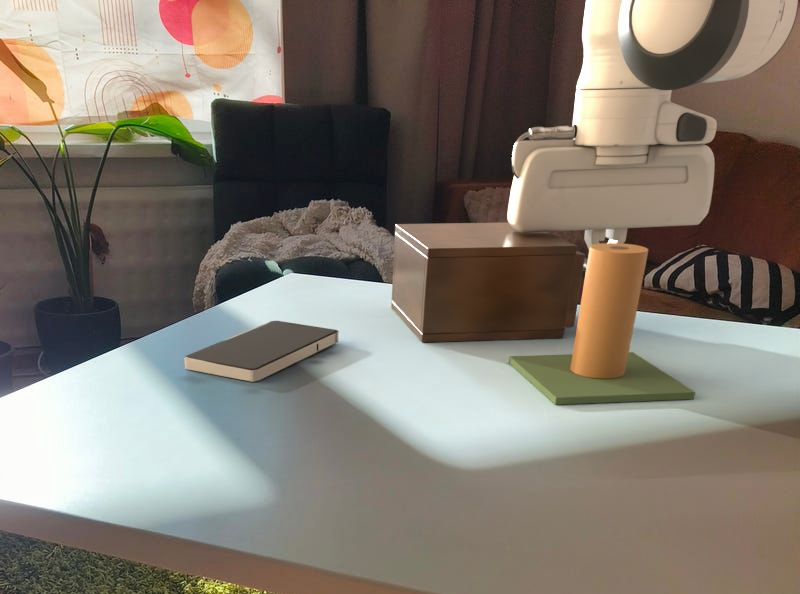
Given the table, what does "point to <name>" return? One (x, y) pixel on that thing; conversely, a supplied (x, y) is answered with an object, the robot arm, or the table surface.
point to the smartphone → (261, 350)
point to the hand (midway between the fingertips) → (599, 275)
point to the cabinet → (481, 282)
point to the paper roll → (608, 309)
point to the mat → (598, 381)
